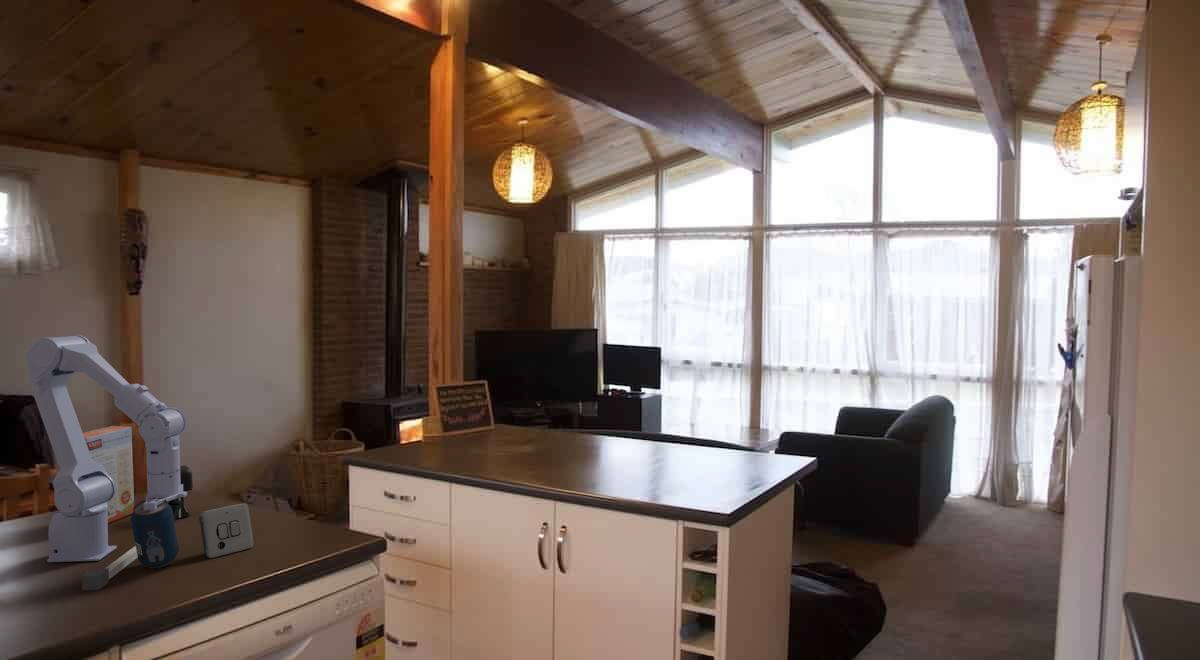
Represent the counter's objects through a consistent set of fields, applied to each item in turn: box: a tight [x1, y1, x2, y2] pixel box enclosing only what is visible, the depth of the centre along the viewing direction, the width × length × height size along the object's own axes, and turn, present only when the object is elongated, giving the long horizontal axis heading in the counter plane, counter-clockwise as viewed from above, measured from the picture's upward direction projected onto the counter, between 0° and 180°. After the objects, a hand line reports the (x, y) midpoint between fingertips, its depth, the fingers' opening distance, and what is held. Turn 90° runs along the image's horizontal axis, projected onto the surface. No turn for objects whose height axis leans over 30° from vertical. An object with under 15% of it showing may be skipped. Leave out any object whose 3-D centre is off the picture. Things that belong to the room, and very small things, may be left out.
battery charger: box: [174, 465, 194, 519], centre depth 187 cm, size 7×4×11 cm, turn 35°
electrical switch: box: [198, 503, 254, 559], centre depth 162 cm, size 9×5×9 cm, turn 141°
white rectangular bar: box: [81, 545, 138, 591], centre depth 152 cm, size 3×23×3 cm, turn 8°
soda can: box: [130, 498, 180, 569], centre depth 152 cm, size 7×7×12 cm
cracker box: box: [78, 425, 135, 524], centre depth 180 cm, size 14×6×21 cm, turn 172°
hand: (165, 539), depth 156 cm, fingers closed, pressing on soda can
